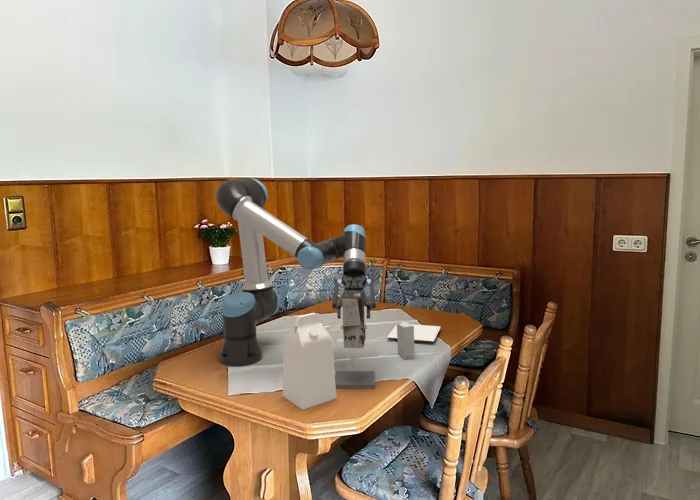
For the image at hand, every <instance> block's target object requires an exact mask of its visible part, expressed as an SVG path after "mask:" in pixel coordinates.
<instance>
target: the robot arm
mask: <svg viewBox="0 0 700 500" xmlns="http://www.w3.org/2000/svg"><path fill="white" fill-rule="evenodd" d="M268 196H269V195H268V190H267V188H266V186H265V185H264V183H262V181H260V180H259V179H256V178H247V177H246V178H240V179H227V180H226V181H223V182H222V183H221V184H219V186H218V188H217V189H216V192H215V200H216V204H217V206H218V208H219V209H220V210H221V211H222V212H223V213H225V214H226V215H227V216H228V217H230V218H231V219H233V220H234V221H237V225H238V233H239V241H240V248H241V249H240V250H241V259H242V264H243V265H242V266H243V274H244V282H245V283H244V284H243V286H242V287H241V290H242V291H241V292H236V293H231V294H229V295H227V296H225V297H224V298H223V300H222V304H221V305H222V307H221V314H222V325H223V327H222V328H223V329H222V330H223V342H222V344H221V349H220V354H219V361H220V363H221V364H224V365H225V366H231V367H232V366H235V367H237V366H239V367H240V366H247V365H252V364H254V363H257V362H259V361H261V359H262V358H263V350H262V346H261V345H260V342H259V339H258V337H257V324H259V323H261V322H264V321H265V320H267V319H268V320H269V319H271V317H272V316H274V315H275V314H276V313H277V312H278V310H279V308H280V305H281V304H280V303H281V300H280V295H279V293H278V292H277V291H276V289H275V288H274V286H273V283H272V282H271V281H270V280H269V278H268V270H267V260H266V252H265V244H264V243H265V242H264V237H265V238H266V239H268V240H269V241H270V242H273V243H274V244H275V245H277V246H279V247H280V248H281V249H283V250H284V251H285V252H287V253H289V254H290V255H291V256H293V257H294V258H296V260H297V262H298V265H299V266H300V267H301V268H302V269H304V270H306V271H307V270H308V271H309V270H314V269H317V268H318V269H319V267H322V266H323V265H326V264H328V263H330V262H333V261H335V260H339V259H341V258H342V259H343V261H342V262H343V263H342V265H343V266H342V267H343V268H342V269H343V270H342V277H341V278H340V279H337V278H334V279H333V285H334V286H333V287H334V288H333V295H332V301H331V306H332V309H334V310H335V309H336V310H337V312H336V313H337V319H340V329H341V330H343V309H342V298H343V296H344V294H345V293H347V292H364V329H365V330H367V329H368V325H367V324H368V319H370V318H371V310H372V309H376V306H377V301H376V295H375V284H376V280H375V278H371V279H369V278H367V276H366V271H367V270H366V240H367V238H366V230H365V228H364V227H363V226H361V225H359V224H355V223H354V224H349V225H347V226H346V227H345V228H344V229H343V234H341V235H339V236H336V237H333V238H330V239H326V240H324V241H323V240H322V241H320V242H318V243H315V242H314V241H312V240H310V239H308V238H307V237H306V236H304V235H303V234H301V233H300V232H299V231H297V230H295V229H294V228H293V227H291V226H289V225H288V224H286V223H285V222H283V221H282V220H280V219H278V218H277V217H276V216H274V215H273V214H272V213H270V212H268V211H266V210H265V207H264V206H265V205H266V203H267V202H268V199H269V197H268ZM341 284H342V285H343V286H344V289H343V292H342V294H341V296H340V299H339V301H338V296H339V292H340V291H339V290H340V288H339V287H341ZM366 284H367V286H368V287H369V292H370V300H371V303H370V300H369V298H368V296H367V294H366V291H365V288H364V286H365V285H366Z"/></svg>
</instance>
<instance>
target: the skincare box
mask: <svg viewBox="0 0 700 500" xmlns="http://www.w3.org/2000/svg"><path fill="white" fill-rule="evenodd" d="M396 324H397V340H396V341H397V354H398V356H400V357H401V358H403V359H404V360H410V359H414V358H415V355H416V354H415V341H414V326H413V325H411V324H412V323H409V322H407V321H402V322H397V323H396Z"/></svg>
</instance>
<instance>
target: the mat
mask: <svg viewBox="0 0 700 500" xmlns="http://www.w3.org/2000/svg"><path fill="white" fill-rule="evenodd" d="M334 372H335V385H336V389H376V388H375V383H376V381H375V374H376V373H375V371H374V370H336V371H334Z"/></svg>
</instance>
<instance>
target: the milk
mask: <svg viewBox="0 0 700 500" xmlns="http://www.w3.org/2000/svg"><path fill="white" fill-rule="evenodd" d="M333 345H334V344H333V340H332V337H331V336H330V334H329V332H328V331H327V329H326V328H325V326H324V325H323V324H322V322H321V320H320V318H319V316H318V314H317V313H316V312H311V313H306V314H301V315H297V317H296V320H295V323H294V326H293V327H292V328H291V329H290V330H289V332H287V334H286V335H285V337H284V340H283V367H282V368H283V371H282V373H283V374H282V375H283V377H282V378H283V379H282V397H283V398H285V400H287V401H290V403H292V404H294V405H295V406H297V407H298V408H299V409H301V410H305V409H306V410H307V409H308V408H312V407H315V406H318V405H321V404H323V403H327V402H330V401H333V400H336V399H337V388H336V385H335V372H336V371H335V362H334V361H335V359H334V348H333V347H334V346H333Z"/></svg>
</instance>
